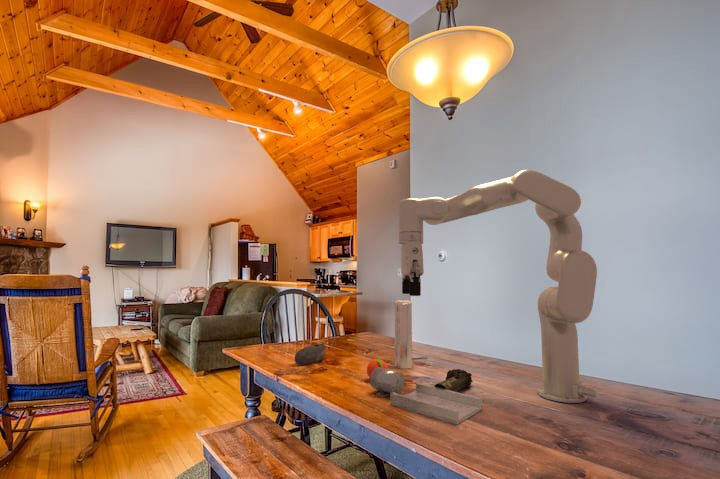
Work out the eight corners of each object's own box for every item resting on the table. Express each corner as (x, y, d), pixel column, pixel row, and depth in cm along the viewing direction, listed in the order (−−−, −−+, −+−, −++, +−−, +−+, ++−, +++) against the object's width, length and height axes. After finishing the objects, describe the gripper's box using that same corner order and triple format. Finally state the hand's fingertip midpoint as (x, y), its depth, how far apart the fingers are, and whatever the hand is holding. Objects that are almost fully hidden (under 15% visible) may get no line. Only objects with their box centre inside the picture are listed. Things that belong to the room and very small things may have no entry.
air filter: (392, 365, 146) (392, 300, 149) (407, 364, 148) (407, 299, 150) (399, 369, 140) (398, 301, 142) (415, 368, 142) (414, 300, 144)
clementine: (392, 383, 123) (392, 360, 124) (373, 385, 121) (373, 362, 121) (382, 376, 131) (382, 355, 131) (363, 378, 128) (363, 357, 129)
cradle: (481, 409, 100) (481, 398, 100) (456, 424, 90) (456, 411, 90) (418, 393, 113) (418, 382, 113) (390, 404, 103) (390, 393, 104)
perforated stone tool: (298, 368, 142) (298, 349, 143) (290, 365, 146) (290, 347, 147) (329, 361, 153) (329, 343, 153) (320, 359, 157) (321, 342, 157)
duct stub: (405, 393, 113) (405, 369, 113) (390, 399, 107) (390, 374, 108) (384, 388, 118) (384, 365, 119) (369, 393, 113) (369, 369, 113)
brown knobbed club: (448, 401, 107) (447, 380, 107) (427, 396, 111) (427, 376, 112) (475, 386, 120) (475, 368, 120) (456, 383, 124) (455, 365, 125)
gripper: (430, 236, 109) (431, 296, 108) (415, 241, 126) (415, 293, 125) (405, 236, 108) (405, 296, 107) (393, 240, 125) (393, 293, 124)
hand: (411, 294), depth 116 cm, fingers open, 9 cm apart
